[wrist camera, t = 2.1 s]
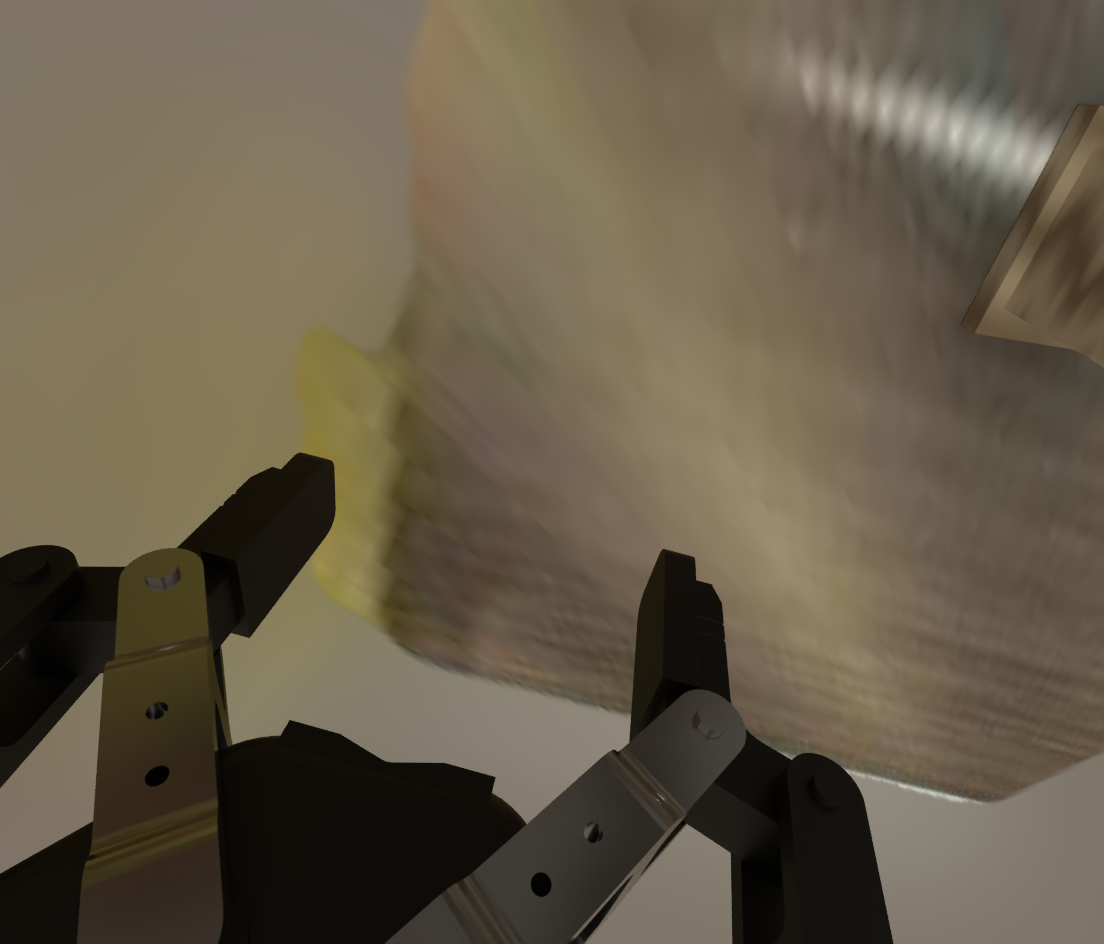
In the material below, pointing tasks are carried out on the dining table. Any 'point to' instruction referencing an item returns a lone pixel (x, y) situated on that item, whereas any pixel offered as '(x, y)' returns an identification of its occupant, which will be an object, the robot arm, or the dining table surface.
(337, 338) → the dining table surface
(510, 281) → the dining table surface
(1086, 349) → the stand
